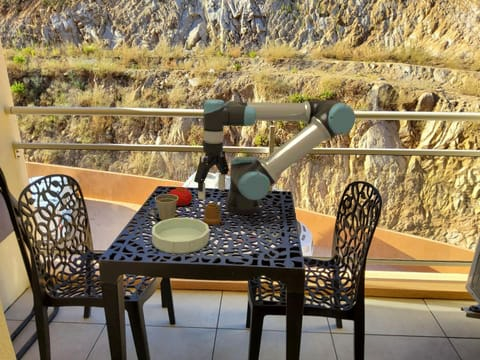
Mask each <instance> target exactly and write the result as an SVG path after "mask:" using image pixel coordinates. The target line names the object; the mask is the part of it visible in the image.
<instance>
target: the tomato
mask: <svg viewBox="0 0 480 360" xmlns="http://www.w3.org/2000/svg"><path fill="white" fill-rule="evenodd" d="M168 194H172V195H176V196H178V200H177V203H176V206H183V207H184V206H188V205H189V204H191V203H192V200H193V195H192V193H191V191H190V190H189V189H188V188H185V187H183V186H179V187H176V188H175V189H171V190H170V191H169V192H168Z"/></svg>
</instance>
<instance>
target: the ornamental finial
mask: <svg viewBox="0 0 480 360" xmlns="http://www.w3.org/2000/svg"><path fill="white" fill-rule="evenodd" d="M220 213H221V211H220V206H219V205H218V204H217V203H215V202H210V203H208V204H207V205H206V206H205V208H204V215H203V218H202V222H204V223H206V224H208V226H217V225H219V224H220V223H222V217H221V214H220Z"/></svg>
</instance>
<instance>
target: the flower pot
mask: <svg viewBox="0 0 480 360" xmlns="http://www.w3.org/2000/svg"><path fill="white" fill-rule="evenodd" d="M177 200H178V196H176V195H172V194H169V193H165V194H164V193H163V194H159V195H157V196H155V197H154V201H155V204H156V205H157V211H158V217H159V219H160V221H163V220H167V219H171V218H176V209H177V205H176V203H177Z"/></svg>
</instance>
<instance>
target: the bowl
mask: <svg viewBox="0 0 480 360" xmlns="http://www.w3.org/2000/svg"><path fill="white" fill-rule="evenodd" d="M151 228H152V230H151V243H152V245H153V247H154V248H155V249H157V250H159V251H160V252H163V251H164V253H168V254H176V255H177V254H180V255H181V254H188V253H190V254H191V253H195V252H197V251H200V250H201V249H203V248H205V247H206V246H207V245H208V243H209V240H210V229H209V225H208V224H206V223H204V221H203V220H201V219H197V218H191V217H175V218H171V219H167V220H160V221H159V222H157V223H155V225H153V226H152V227H151Z"/></svg>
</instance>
